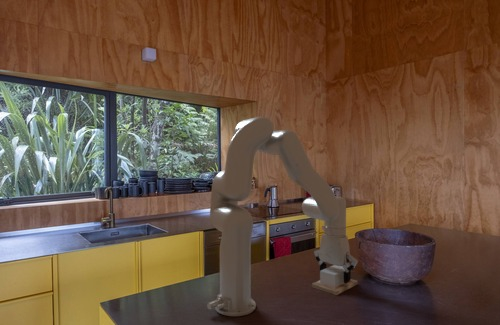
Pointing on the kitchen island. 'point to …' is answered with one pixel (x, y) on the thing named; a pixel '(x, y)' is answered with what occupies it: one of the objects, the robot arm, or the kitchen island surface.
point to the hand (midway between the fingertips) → (334, 278)
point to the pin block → (334, 290)
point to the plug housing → (332, 276)
